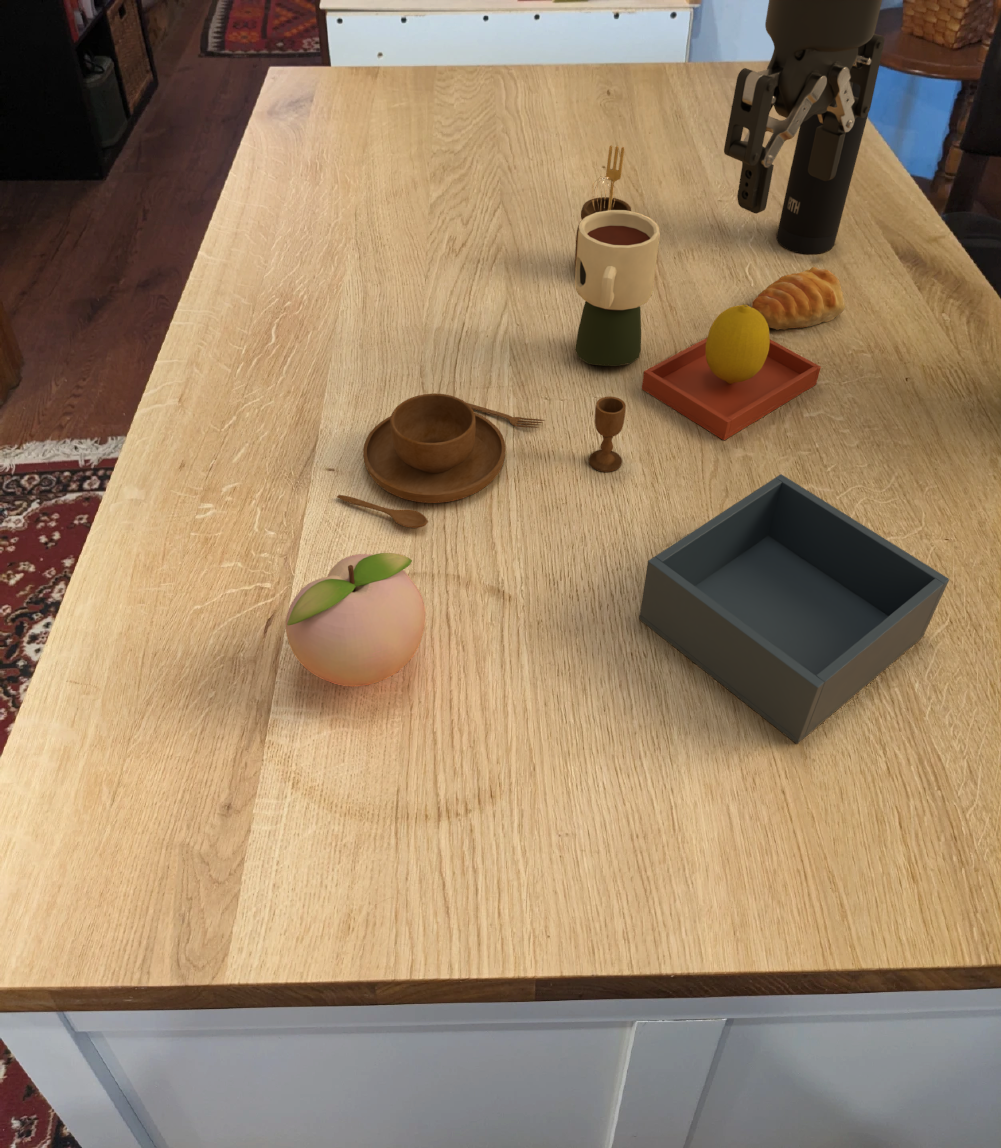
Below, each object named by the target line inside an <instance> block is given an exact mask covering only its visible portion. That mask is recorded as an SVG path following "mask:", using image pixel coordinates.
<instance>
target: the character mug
mask: <svg viewBox="0 0 1001 1148" xmlns="http://www.w3.org/2000/svg"><path fill="white" fill-rule="evenodd" d="M580 221H581V220H580ZM580 221H579V223H580V224H579V223H578V225H579V231H578V245H577V259H576V268H575V277H574V287H575V291H576V293H577V294H578V296H580V298H581V299H582V300H583V301H585V302H584V305H583V308H582V312H581V317H580V321H579V324H578V330H577V334H576V341H575V347H574V351H575V353H576V355H577V358H579V359H580V360H582V361H583V362H584V363H586V364H588V365H595V366H602V367H603V366H607V367H608V366H609V367H614V366H615V367H619V366H624V365H629V364H632V363H634V362H635V361H636V360H638V359H639V358H640V355H641V351H642V315H641V314H642V313H641V312H642V311H641V306H642V305H645V304H647V303H648V301H649V300H650V298H651V297H652V296H653V291H654V284H655V276H656V268H657V259H658V252H659V245H660V244H659V243H660V226H659V224H657V222H655V220H654V219H652V217H649V216H646V215H645V214H642V213H640V212H636V211H632V210H631V211H626V210H608V211H602V212H596V213H594V214H591V215H589V216H586V217H585V218H584V219H583V220H582V221H581V222H580Z"/></svg>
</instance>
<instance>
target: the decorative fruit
mask: <svg viewBox="0 0 1001 1148" xmlns="http://www.w3.org/2000/svg"><path fill="white" fill-rule="evenodd" d="M412 562H413V560H412V559H411V558H410V557H407V556H406V555H403V554H400V553H396V552H395V553H394V552H380V553H374V554H370V553H358V554H353V555H348V556H346V557H344V558H342V559H340V560H338V561H337V563H336V564H334V565H333V567H332V568H331V569H330V571H329V572H328V574H327V575H326V576H325V577H321V578H318V579H315V580H312V581H310V582H308V584H306V585H305V586H303V587H302V588H301V589H300V590H299V592H298V593H297V594H296V596H295V597H294V598H293V600H292V601H291V603H290V605H289V607H288V610H287V612H286V615H285V616H286V617H285V633H286V638H287V642H288V644H289V647H290V649H291V651H292V654H293V655H294V657H295V658H296V659H297V661H298V662H299V663H300V664H301V665H302V666H303V667H304V668H305V669H306V670H308V671H309V672H310V673H311V674H313V675H314V676H315V677H317V678H320V679H322V680H324V681H327V682H329V683H332V684H335V685H339V686H344V687H363V686H369V685H373V684H376V683H380V682H383V681H385V680H387V679H389V678H391V677H392V676H393V675H395V674H397V673H398V672H399V671H400V670H402V669H403V668H404V667H405V666H406V665H407V664H408V663H409V662H410V661H411V660H412V658H413V657H414V656H415V654H416V653H417V650H418V649H419V647H420V644H421V642H422V638H423V635H424V631H425V626H426V607H425V602H424V599H423V595H422V593H421V591H420V589H419V587H418V586H417V585H416V584H415V582H414V581H413V580H412V578H411V577H410V576H409V575H408V574H407V572H406V571H405V569H407V568H408V567H409V566H410V565H411V564H412Z"/></svg>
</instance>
